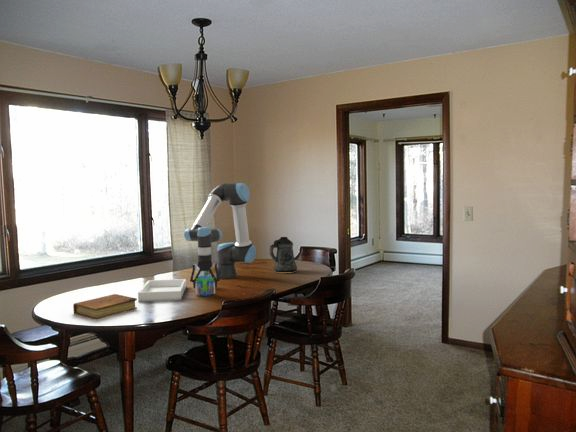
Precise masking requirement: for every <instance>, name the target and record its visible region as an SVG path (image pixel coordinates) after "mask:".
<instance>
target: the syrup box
mask: <svg viewBox="0 0 576 432" xmlns="http://www.w3.org/2000/svg"><path fill="white" fill-rule="evenodd" d="M199 269H200V268H199V267H198V266H197V267H196V274H197V273H198V271H199ZM199 276H211V274H210V272H209V271H201V272H200V274H199ZM199 276H198V277H199Z"/></svg>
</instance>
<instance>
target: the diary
mask: <svg viewBox="0 0 576 432" xmlns="http://www.w3.org/2000/svg"><path fill="white" fill-rule="evenodd" d="M137 300H138V298H135V297H131V296H126V295H122V294H121V295H120V294H116V293H114V294H113V293H112V294H110V295H105V296H101V297H97V298H93V299H88V300H84V301H79V302H74V303H73V307H72V308H73V314H75V315H78V316H82V317H86V318H89V319H94V320H100V319H103V318H107V317H111V316H115V315H117V314H118V315H119V314H121V313H125V312H129V311H133V310H136V309H138V307H136V301H137Z"/></svg>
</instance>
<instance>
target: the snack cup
mask: <svg viewBox="0 0 576 432" xmlns="http://www.w3.org/2000/svg"><path fill="white" fill-rule="evenodd" d="M196 282H197V293H198V295H199V296H201V297H202V296H203V297H207V296H211V295H212V294H213V293H214V277H212V276H211V275H210V276H199V277H198V278H196Z"/></svg>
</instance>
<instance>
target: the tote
mask: <svg viewBox="0 0 576 432" xmlns="http://www.w3.org/2000/svg"><path fill="white" fill-rule="evenodd" d="M186 280H187V279H186V278H182V279H181V278H180V279H179V278H177V279H176V278H175V279H152V280H151V279H150V280H149V279H148V280H147V281H146V282H145V284H144V285H143V286H141V289H139V291H138V293H137V297H138V298H137V300H138V302H139V303H144V302H165V301H166V302H168V301H181V300H182V298H183V296H184V293H185V291H186V288H187V283H186V282H187V281H186Z"/></svg>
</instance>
